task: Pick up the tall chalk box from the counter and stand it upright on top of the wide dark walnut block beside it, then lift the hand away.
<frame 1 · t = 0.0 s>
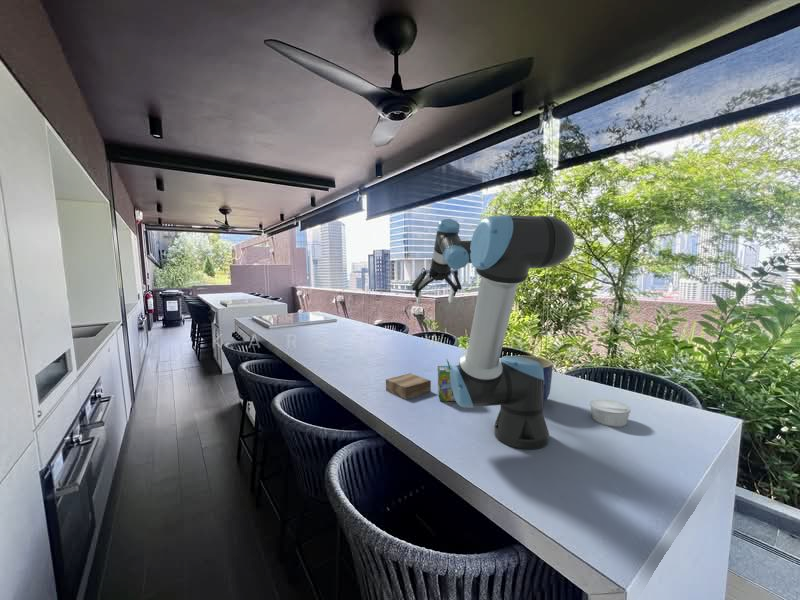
hand: (433, 301, 143), 36 cm above the table, tool tilted 35°, fingers open, 13 cm apart
planter: (527, 401, 128), on the table
chalk box: (450, 398, 133), on the table
ramekin: (609, 421, 111), on the table
walnut base block: (408, 391, 141), on the table
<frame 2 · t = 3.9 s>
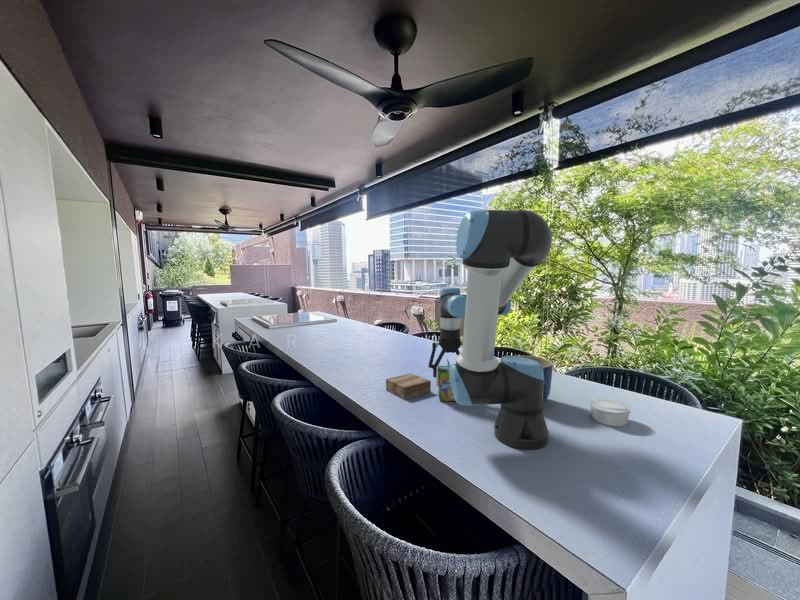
hand: (450, 385, 132), 5 cm above the table, tool pointing down, fingers closed on chalk box, 9 cm apart
chalk box: (450, 397, 133), on the table, touching gripper
everything else where it was.
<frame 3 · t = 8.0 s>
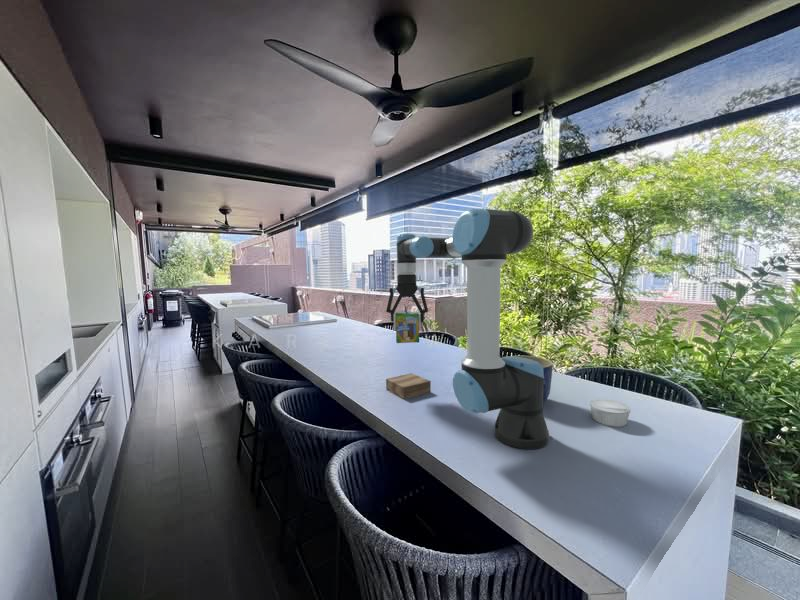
hand: (407, 329, 138), 25 cm above the table, tool pointing down, fingers closed on chalk box, 9 cm apart
chalk box: (407, 341, 139), point 21 cm above the table, touching gripper
everything else where it was.
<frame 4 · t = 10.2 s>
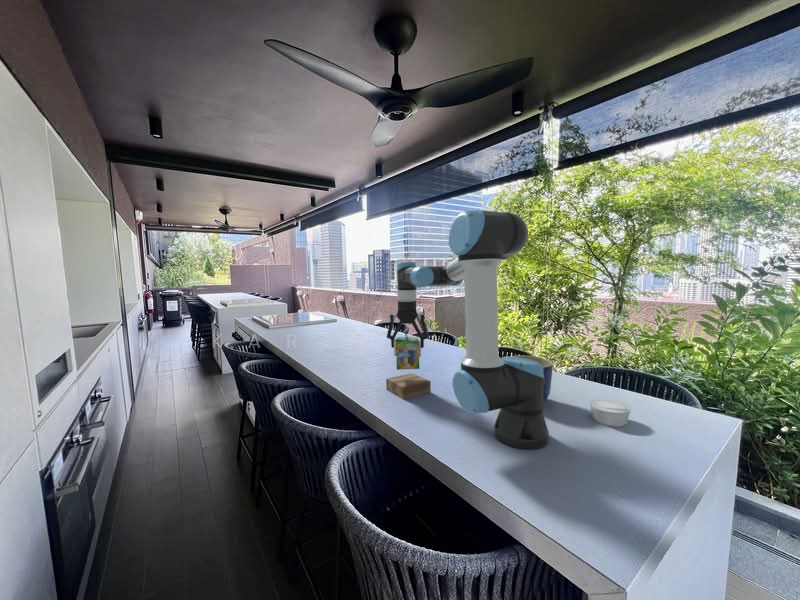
hand: (407, 355, 139), 15 cm above the table, tool pointing down, fingers closed on chalk box, 9 cm apart
chalk box: (407, 367, 140), point 10 cm above the table, touching gripper
everything else where it was.
when the fingers open (11 cm above the table, at t = 12.1 s): chalk box drops 2 cm, point 4 cm above the table.
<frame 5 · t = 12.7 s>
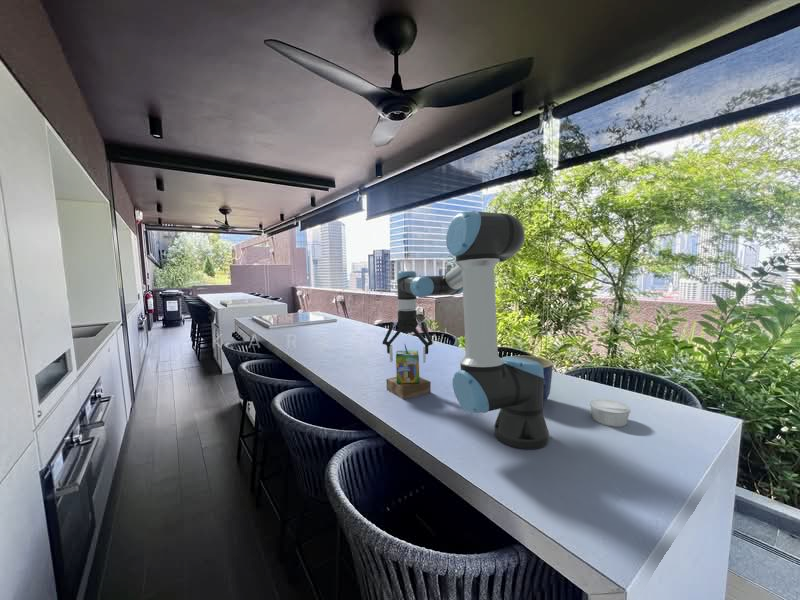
hand: (407, 361, 139), 12 cm above the table, tool pointing down, fingers open, 13 cm apart
chalk box: (407, 380, 140), point 4 cm above the table
everything else where it was.
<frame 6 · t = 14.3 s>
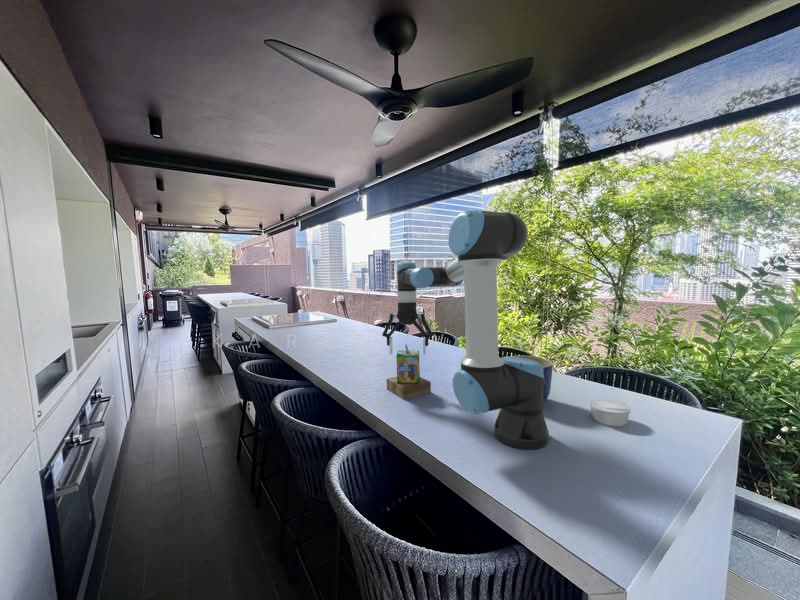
hand: (407, 353, 139), 15 cm above the table, tool pointing down, fingers open, 13 cm apart
nothing on the table moved.
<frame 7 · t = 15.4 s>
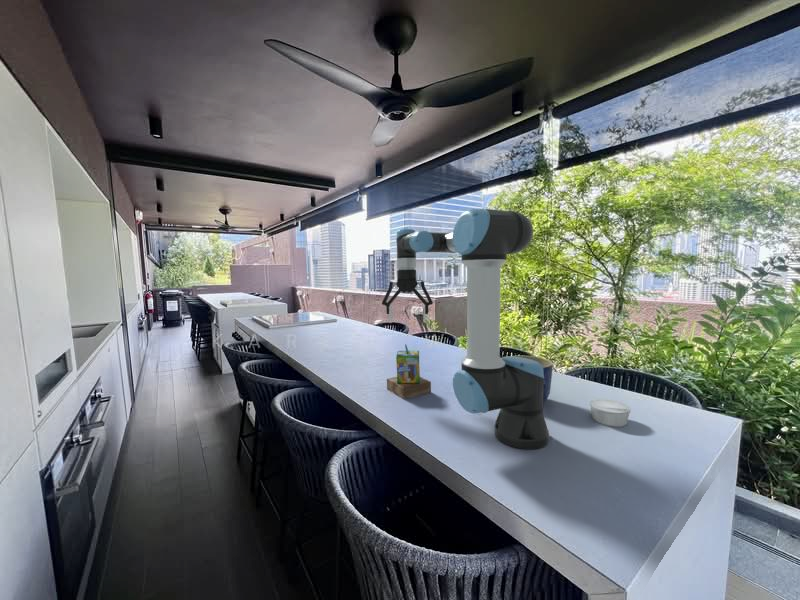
hand: (407, 322, 138), 28 cm above the table, tool pointing down, fingers open, 13 cm apart
chalk box: (408, 380, 140), point 4 cm above the table, touching walnut base block
walnut base block: (408, 392, 141), on the table, touching chalk box
everything else where it was.
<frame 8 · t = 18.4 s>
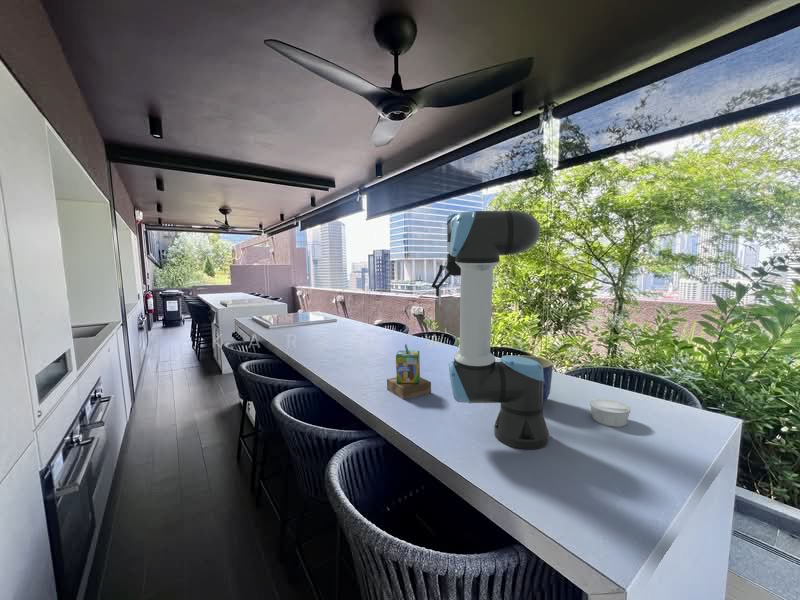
hand: (456, 304, 142), 35 cm above the table, tool pointing down, fingers open, 13 cm apart
nothing on the table moved.
at the end: chalk box inside the target area on the walnut base block (0.2 cm from its centre), point 4.8 cm above the walnut base block's base; chalk box tilted 0° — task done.
